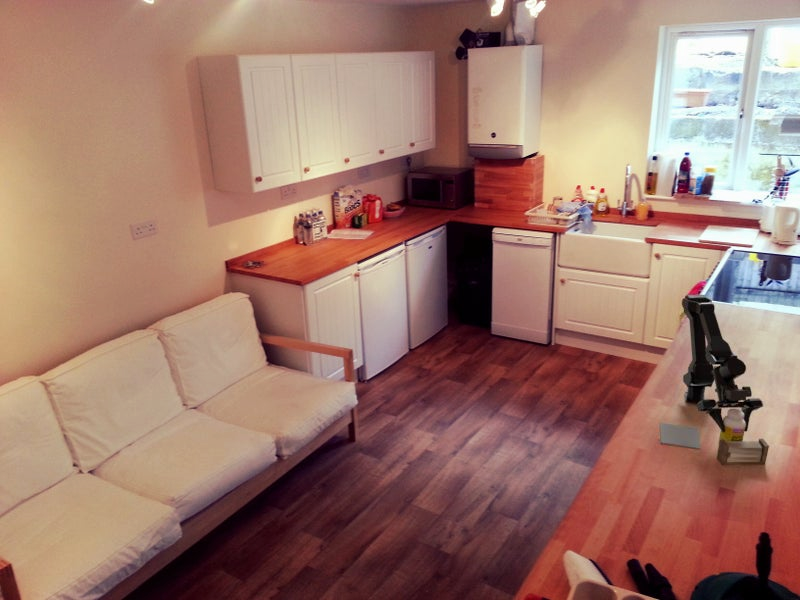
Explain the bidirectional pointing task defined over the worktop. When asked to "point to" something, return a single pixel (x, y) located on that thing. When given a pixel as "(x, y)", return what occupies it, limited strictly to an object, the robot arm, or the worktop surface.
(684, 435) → the slate mat
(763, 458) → the offcut rack
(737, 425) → the supplement bottle
